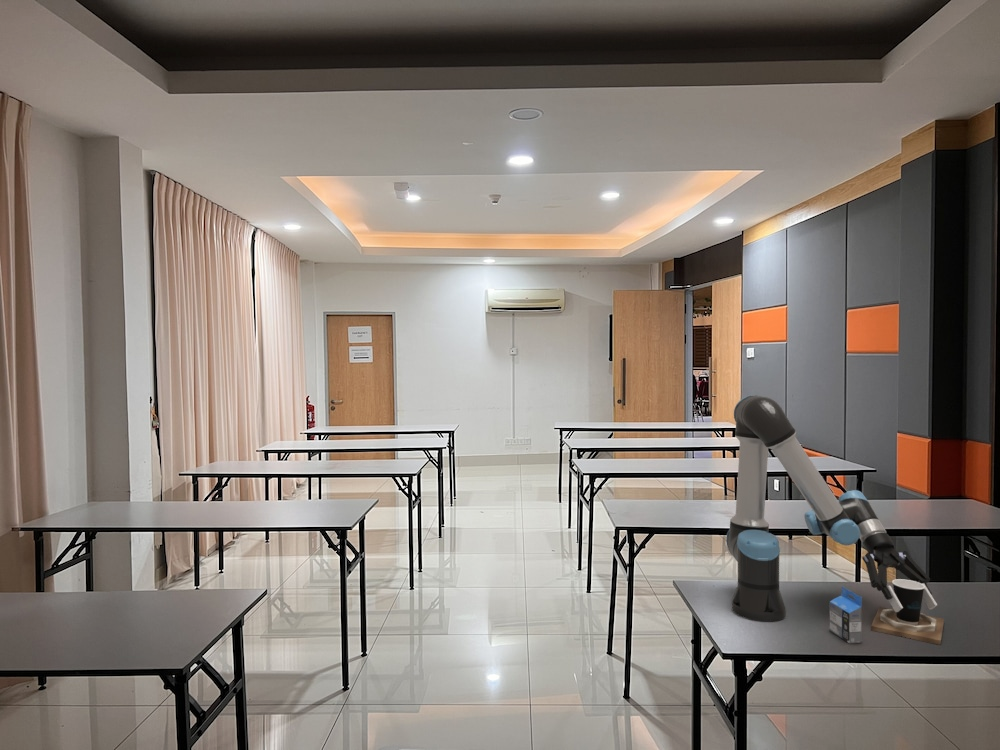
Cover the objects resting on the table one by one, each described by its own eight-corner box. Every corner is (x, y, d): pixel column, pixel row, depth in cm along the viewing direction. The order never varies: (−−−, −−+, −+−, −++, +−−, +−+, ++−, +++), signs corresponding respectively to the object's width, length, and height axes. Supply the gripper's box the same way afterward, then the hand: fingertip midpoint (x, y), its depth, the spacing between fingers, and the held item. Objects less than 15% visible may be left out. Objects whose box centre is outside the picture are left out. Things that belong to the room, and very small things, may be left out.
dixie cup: (898, 614, 187) (898, 577, 187) (929, 623, 180) (929, 584, 180) (886, 620, 182) (887, 582, 182) (917, 630, 176) (918, 590, 176)
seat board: (871, 630, 179) (871, 620, 179) (879, 610, 193) (879, 602, 193) (940, 644, 169) (940, 635, 169) (944, 623, 184) (944, 614, 183)
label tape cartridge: (828, 630, 179) (828, 586, 179) (841, 629, 179) (841, 586, 179) (848, 644, 170) (848, 597, 170) (862, 643, 171) (862, 597, 170)
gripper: (900, 542, 198) (943, 611, 183) (834, 546, 194) (873, 617, 179) (914, 529, 193) (960, 599, 177) (847, 533, 189) (887, 605, 174)
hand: (916, 608), depth 178 cm, fingers open, 10 cm apart
